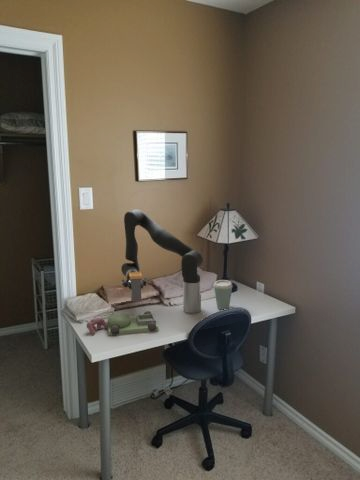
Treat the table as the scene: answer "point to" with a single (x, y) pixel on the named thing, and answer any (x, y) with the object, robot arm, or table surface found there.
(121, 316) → the toy lawn mower
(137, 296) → the orange-capped grey post
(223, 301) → the disposable coffee cup
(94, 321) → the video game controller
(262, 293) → the table surface
